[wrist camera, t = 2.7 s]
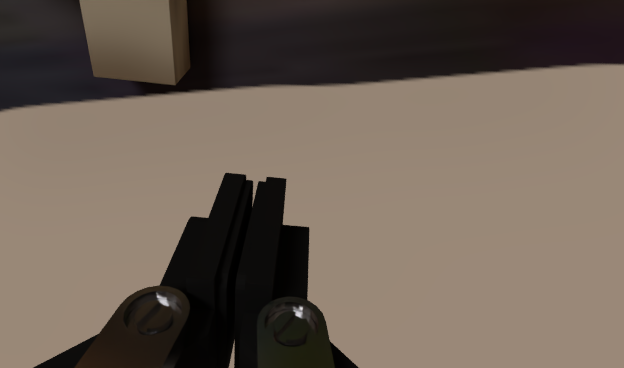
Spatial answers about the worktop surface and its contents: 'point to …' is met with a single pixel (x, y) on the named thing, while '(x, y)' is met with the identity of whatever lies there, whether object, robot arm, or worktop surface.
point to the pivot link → (138, 39)
